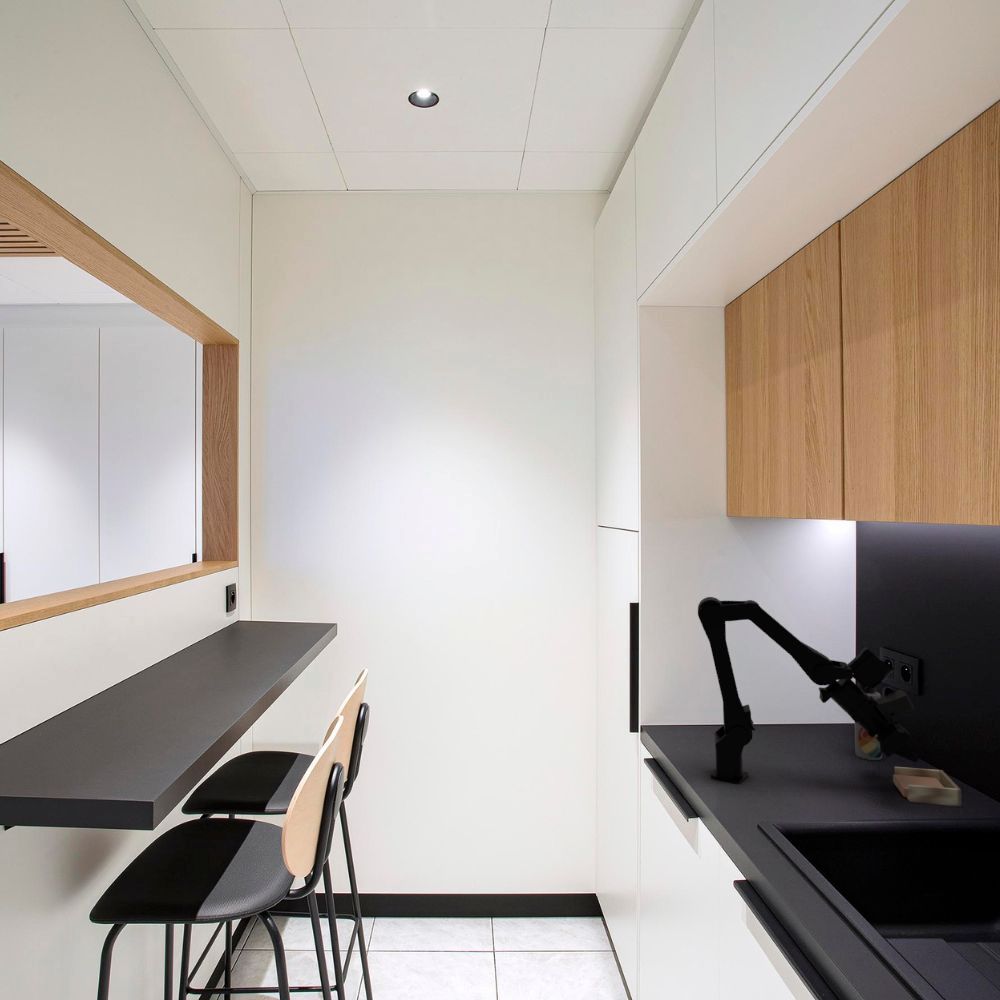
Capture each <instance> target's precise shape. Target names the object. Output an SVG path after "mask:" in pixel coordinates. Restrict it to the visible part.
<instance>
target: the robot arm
mask: <svg viewBox="0 0 1000 1000" xmlns="http://www.w3.org/2000/svg"><path fill="white" fill-rule="evenodd" d="M697 616H698V619H699V621H700V623H701V626H702V628H703V630H704V633H705V635H706V637H707V640H708V642H709V646H710V650H711V654H712V660H713V664H714V668H715V672H716V677H717V681H718V685H719V690H720V695H721V698H722V713H723V715H722V716H723V724H722V726H720V727H719V728H718V729H717V730H716V731H715V732H714V733H713V734H714V745H715V747H714V749H715V752H714V753H715V755H714V757H715V770H714V771H713V772H712V773H710V775H709V777H710V778H712V779H717V780H721V781H725V782H730V783H735V784H740V783H742V782H743V781H744V780H745V779H746V778H748V776H749V772H747V771H744V768H743V767H744V765H743V764H744V760H743V750H744V747H745V746H747V745H748V744H750V742H751V741H752V740H753V731H756V728H755V725H754V724H755V723H754V721H753V719H752V712H751V708H750V705H749V704H745V705H743V703H742V701H741V698H740V696H739V692H738V687H737V683H736V677H735V674H734V670H733V665H732V660H731V656H730V652H729V648H728V644H727V637H726V635H727V633H726V632H727V631H726V626H727V625H726V622H735V621H743V620H744V621H745V620H746V621H751V622H752V623H753V624H754V625H755V626H756V627H757V628H758V629H759V630H760V631H762V632H763V633H764V634H765V635H767V636H768V637H769V638H770V639H771V640H772V641H773V642H775V643H776V644H777V645H778V646H779V647H781V649H783V650H784V651H785V652H786V653H788V655H789V656H791V658H793V660H794V661H795V663H797V665H798V666H799V667H800V668H801V670H802V671H803V672H804V673H805V675H806V676H807V677H808V678H809V680H811V681H812V683H814V684H816V685H817V686H825V687H818V690H819V700H820V701H821V702H822V703H823V704H826V702H828V701H829V700H830V699H831V700H832V701H834V703H835V704H837V705H838V706H839V707H840V708H841V709H842V710H843V711H844V712H845V714H847V715H849V716H850V718H851V719H852V720H853V721H854V723H855V722H856V723H858V724H859V725H860V726H861V727H862V728H863V729H864V730H865V731H866V732H867V733H868V734H869V735H870V736H871V737H872V738H873V737H874V736H875V735H876V736H877V737H876V738H875V740H876V745H877V746H878V747H879V749H880V750H881V751H882V754H884V755H885V756H886V757H891V756H892V755H893V754H895V755H897V756H898V757H902V758H905V759H906V760H909V761H911V762H913V763H916V762H918V761H919V760H920V759H919V757H918V755H917V754H916V752H915V751H914V750H913V748H912V747H911V746H910V745H909V743H908V742H909V741H910V740H911V738H912V734H910V733H909V731H907V730H906V729H905V728H904V727H903V726H902V725H901V724H900V723H899V722H898V720H895V718H894V716H897V715H900V714H904V713H905V712H910V711H913V710H914V709H915V706H914V705H913V702H912V701H911V699H910V697H909V696H908V694H907V693H906V691H904V690H902V689H896V690H895V689H893V688H892V687H891V686H889V685H888V686H885V687H882V689H881V690H882V691H881V692H882V693H881V696H880V697H881V698H878V699H876V700H875V699H874V698H872V697H871V696H868V695H867V694H866V693H865V692H864V691H863V690H861V689H860V688H859V687H858V684H856V683H855V682H854V681H853V680H852V679H854V680H856V682H857V683H858V682H859V683H860V684H861V685H862V686H863V687H864V688H865V689H866V688H867V687H868V688H869V689H870V688H871V687H872V688H873V689H874V688H875V687H876V688H877V687H878V686H879V685H880V684H881V683H882V682H884V680H885V679H887V677H889V676H890V675H891V674H892V673H894V670H893V669H892V668H891V667H890V666H889V664H887V663H886V662H885V661H884V660H882V659H881V658H880V657H879V656H878V655H876V654H874V653H873V652H872V651H871V650H870V649H869V648H868V647H863V648H862V649H861V650H860V652H859V653H858V654H857V655H856V656H855V657H854V658H853V659H852V660H851V661H850V662H848V663H846V662H844V661H838V660H834V659H833V660H832V659H830V658H829V657H828V656H827V655H825V654H823V653H822V652H820V651H818V650H817V649H815V648H813V647H811V646H809V645H808V644H806V643H804V642H803V641H801V640H800V639H799V638H797V637H796V636H795V635H794V634H792V632H791V631H789V630H788V629H787V628H786V627H785V626H783V625H782V624H781V623H780V622H779V621H778V620H777V619H775V618H774V617H772V615H770V614H769V613H768V612H767V611H766V610H764V608H762V607H761V606H760V605H759V603H758V602H757V601H755V600H751V599H748V600H747V599H746V600H720V599H719V598H717V597H713V596H707V597H704V598H703V599H702V600H700V602H699V603H698V606H697Z"/></svg>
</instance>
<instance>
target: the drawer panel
mask: <svg viewBox="0 0 1000 1000" xmlns="http://www.w3.org/2000/svg"><path fill="white" fill-rule="evenodd" d="M892 780H893V783H894V785H895V786H896V788H897V789H898V790H899V793H901V795H902V796H903V798H907V797H909V785H919V786H931V787H943V786H942V784H941V783H940V782H939V781H938V780H937V779H936V778H930V777H917V776H905V775H895V774H893V775H892Z"/></svg>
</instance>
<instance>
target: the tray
mask: <svg viewBox="0 0 1000 1000" xmlns="http://www.w3.org/2000/svg"><path fill="white" fill-rule="evenodd" d="M894 775H905V776H917V777H930V778H936V779H937V780H938V781H939V782H940V783H941V784H942V786H943V787H931V786H919V785H909V797H906V798H907V800H908V801H909V802H910V803H918V804H927V805H937V806H940V805H941V806H949V807H962V804H963V803H962V789H961V788H960V787H959V786H958V785H957V784H956V783H955V782H954V781H953V780H952V779H951V778H950V777H949V775H948V774H947V773H945V771H944V770H942V769H934V768H933V769H931V768H918V767H917V768H916V767H906V766H905V767H903V766H894Z"/></svg>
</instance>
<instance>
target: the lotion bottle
mask: <svg viewBox="0 0 1000 1000" xmlns="http://www.w3.org/2000/svg"><path fill="white" fill-rule="evenodd" d="M857 686H858V687H859V688H860V689H861V690H863V691H864V692H865V693H866V694H867V695H868V696H871V697H872V698H874V699H875V700H876V699H878V698H881V697H880V696H882V694H881V693H880V692H878V691H877V686H876V687H875V688H874V689H873V688H872V687H871V688H870V689H869V688H868V687H867V688H866V689H865V688H864V687H863V686H862V685H861V684H860V683H859V682H858V681H857ZM876 737H877V736H876V735H875V736H874V737H873V738H872V737H871V736H870V735H869V734H868V733H867V732H866V731H865V730H864V729H863V728H862V727H861V726H860V725H859V724H858V723H856V722H855V721H854V747H855V750H854V751H855V756H856V757H857V758H860V759H863V760H868V761H879V760H882V758H883V752H882V751H881V750H880V749H879V747H878V746H877V745H876V740H875V738H876Z"/></svg>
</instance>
